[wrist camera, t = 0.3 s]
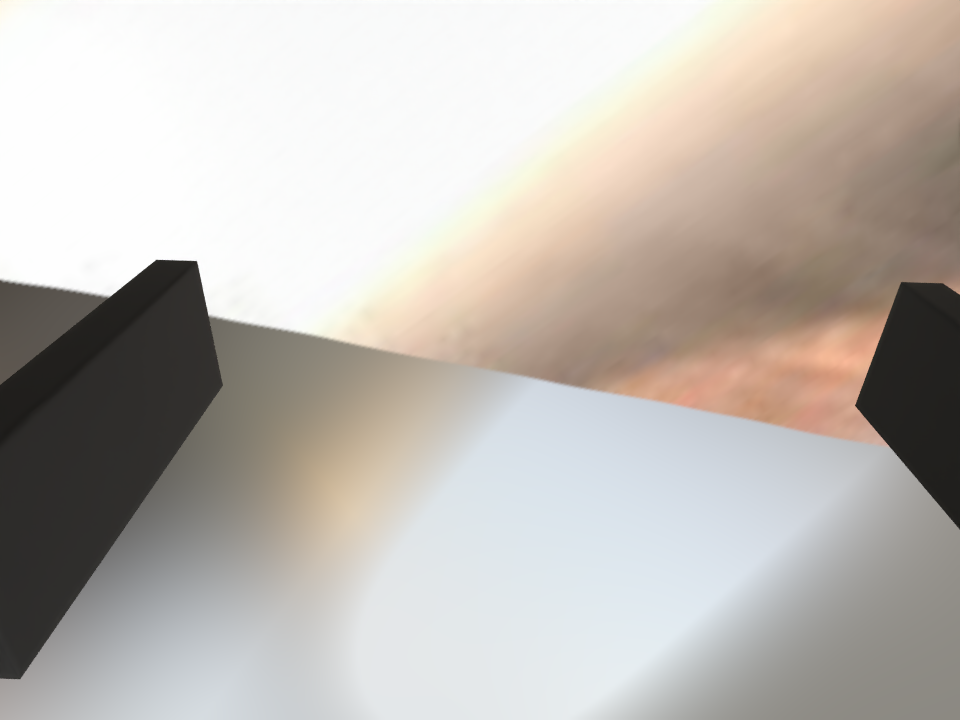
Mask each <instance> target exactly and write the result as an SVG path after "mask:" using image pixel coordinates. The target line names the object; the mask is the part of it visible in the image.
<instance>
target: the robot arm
mask: <svg viewBox="0 0 960 720" xmlns="http://www.w3.org/2000/svg"><path fill="white" fill-rule="evenodd" d="M222 386H223V384H222V380H221V375H220V370H219V365H218V360H217V355H216V351H215V346H214V341H213V336H212V332H211V326H210V322H209V317H208V312H207V307H206V302H205V297H204V293H203V288H202V283H201V278H200V273H199V268H198V264H197V261H177V260H156V261H154V262H153V263H152V264H151V265H149V266H148V267H147V268H146V269H144V270H143V271H142V272H141V273H139V274H138V275H137V276H136V277H134V278H133V279H132V280H131V281H129V282H128V283H127V284H126V285H124V286H123V287H122V288H121V289H119V290H118V291H117V292H116V293H114V294H113V295H112V296H111V297H109V298H108V299H107V300H106V301H105V302H103V303H102V304H101V305H99V306H98V307H97V308H96V309H95V310H93V311H92V312H91V313H90V314H88V315H87V316H86V317H85V318H83V319H82V320H81V321H80V322H78V323H77V324H76V325H75V326H73V327H72V328H71V329H70V330H68V331H67V332H66V333H65V334H63V335H62V336H61V337H60V338H58V339H57V340H56V341H55V342H53V343H52V344H51V345H50V346H48V347H47V348H46V349H45V350H43V351H42V352H41V353H40V354H39V355H37V356H36V357H35V358H33V359H32V360H31V361H30V362H28V363H27V364H26V365H25V366H24V367H22V368H21V369H20V370H18V371H17V372H16V373H15V374H13V375H12V376H11V377H10V378H9V379H7V380H6V381H5V382H3V383H2V384H1V385H0V678H4V679H21V677H22V676H23V674H24V673H25V671H26V670H27V668H28V667H29V665H30V664H31V662H32V661H33V659H34V658H35V657H36V655H37V654H38V652H39V651H40V650H41V648H42V647H43V645H44V643H45V642H46V641H47V639H48V638H49V637H50V635H51V634H52V632H53V631H54V629H55V628H56V626H57V625H58V623H59V622H60V620H61V619H62V617H63V616H64V615H65V613H66V612H67V610H68V609H69V608H70V606H71V604H72V603H73V602H74V600H75V599H76V597H77V596H78V594H79V593H80V592H81V590H82V589H83V587H84V586H85V584H86V583H87V581H88V580H89V578H90V577H91V576H92V574H93V573H94V571H95V570H96V568H97V567H98V566H99V564H100V563H101V561H102V560H103V558H104V557H105V555H106V554H107V552H108V551H109V550H110V548H111V546H112V545H113V544H114V542H115V541H116V539H117V538H118V536H119V535H120V534H121V532H122V531H123V529H124V528H125V526H126V525H127V524H128V522H129V521H130V519H131V518H132V516H133V515H134V513H135V512H136V510H137V509H138V508H139V506H140V504H141V503H142V502H143V500H144V499H145V497H146V496H147V495H148V493H149V492H150V490H151V489H152V487H153V486H154V484H155V483H156V481H157V480H158V479H159V477H160V476H161V474H162V473H163V471H164V470H165V468H166V467H167V465H168V464H169V463H170V461H171V460H172V458H173V457H174V455H175V454H176V453H177V451H178V450H179V448H180V447H181V445H182V444H183V442H184V441H185V440H186V438H187V437H188V435H189V434H190V432H191V431H192V429H193V428H194V426H195V425H196V424H197V422H198V421H199V419H200V418H201V416H202V415H203V413H204V412H205V411H206V409H207V408H208V406H209V405H210V403H211V402H212V400H213V398H214V397H215V396H216V395H217V393H218V392H219V390H220V389H221V387H222ZM855 406H856V407H857V409H858V410H859V411H860V412H861V413H862V414H863V416H864V417H865V418H866V419H867V420H868V422H869V423H870V424H871V425H872V426H873V427H874V429H875V430H876V431H877V432H878V433H879V435H880V436H881V437H882V438H883V439H884V440H885V442H886V443H887V444H888V445H889V446H890V448H891V449H892V450H893V451H894V452H895V453H896V455H897V456H898V457H899V458H900V459H901V461H902V462H903V463H904V464H905V465H906V466H907V468H908V469H909V470H910V471H911V472H912V473H913V474H914V476H915V477H916V478H917V479H918V481H919V482H920V483H921V484H922V485H923V486H924V488H925V489H926V490H927V491H928V492H929V494H930V495H931V496H932V497H933V498H934V499H935V501H936V502H937V503H938V504H939V505H940V507H941V508H942V509H943V510H944V511H945V512H946V514H947V515H948V516H949V517H950V518H951V520H952V521H953V522H954V523H955V524H956V525H957V527H958V528H959V529H960V295H959V294H958V293H956V292H955V291H953V290H952V289H950V288H949V287H947V286H946V285H944V284H943V283H910V282H901V284H900V287H899V289H898V292H897V295H896V298H895V300H894V303H893V306H892V308H891V311H890V314H889V316H888V319H887V322H886V324H885V327H884V330H883V332H882V335H881V338H880V340H879V343H878V346H877V349H876V351H875V354H874V357H873V359H872V362H871V365H870V367H869V370H868V373H867V375H866V378H865V381H864V383H863V386H862V389H861V391H860V394H859V397H858V400H857V402H856V405H855Z"/></svg>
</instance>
